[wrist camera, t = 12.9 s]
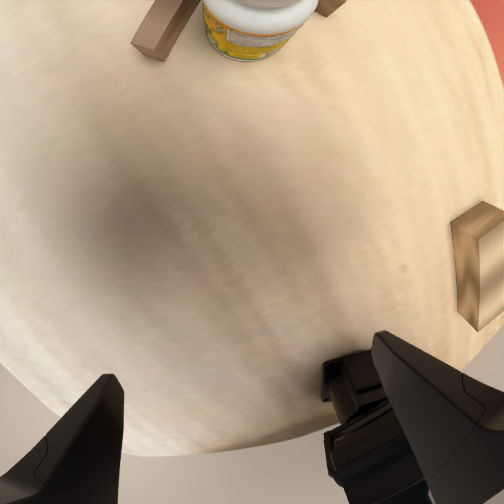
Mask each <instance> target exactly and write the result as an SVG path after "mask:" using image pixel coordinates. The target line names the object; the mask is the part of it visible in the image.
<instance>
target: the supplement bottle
mask: <svg viewBox="0 0 504 504" xmlns="http://www.w3.org/2000/svg"><path fill="white" fill-rule="evenodd" d="M202 4H203V13H204V23H205V30H206V34H207V37H208V39H209V40H210V42H211V43H212V45H213V46H214V47H215V48H216V49H217V50H218V51H219V52H220V53H221V54H223V55H224V56H226V57H228V58H231V59H234V60H238V61H257V60H262V59H265V58H268V57H270V56H272V55H273V54H275V53H276V52H277V51H279V50H280V49H281V48H282V47H283V46H284V45H285V44H286V42H287V41H288V40H289V39H290V38H291V37H292V36H293V35H294V34H295V33H296V31H297V30H298V29H299V28H300V27H301V26H302V25H303V24H304V23H305V22H306V21H307V20H308V19H309V17H310V16H311V15H312V14H313V12H314V11H315V9H316V7H317V4H318V0H202Z"/></svg>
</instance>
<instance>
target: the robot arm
mask: <svg viewBox="0 0 504 504" xmlns="http://www.w3.org/2000/svg"><path fill="white" fill-rule="evenodd" d="M321 400H322V402H324V403H325V402H329V401H332V403H333V406H334V408H335V411H336V413H337V416H338V419H339V421H340V424H341V425H340V426H339V427H336V428H334V429H333V430H331V431H327V432H325V433H324V446H325V454H326V462H327V469H328V475H329V476H330V477H332V478H333V479H334V480H335V482H336V483H337V484H338V485H339V486H340V487H343V488H344V491H345V493H346V496H347V499H348V502H349V504H504V392H502V391H500V390H497V389H495V388H493V387H490V386H488V385H486V384H483V383H482V382H479V381H478V380H475V379H474V378H472V377H469V376H468V375H466V374H464V373H461V371H459V370H457V369H455V368H453V367H451V366H450V365H448V364H446V363H444V362H442V361H441V360H439V359H437V358H435V357H433V356H432V355H430V354H428V353H426V352H424V351H422V350H421V349H419V348H417V347H415V346H413V345H412V344H410V343H408V342H406V341H404V340H403V339H401V338H399V337H397V336H395V335H393V334H392V333H390V332H388V331H386V330H383V331H380V332H376V333H375V334H374V336H373V342H372V348H371V351H367V352H364V353H360V354H356V355H353V356H349V357H345V358H341V359H337V360H333V361H329V362H326V363H324V364H323V371H322V390H321ZM123 430H124V390H123V388H122V386H121V384H120V383H119V381H118V379H117V378H116V376H115V375H114V374H103V375H101V376H100V377H99V378H98V380H97V381H96V382H95V383H94V384H93V385H92V386H91V387H90V388H89V389H88V390H87V391H86V392H85V393H84V394H83V395H82V396H81V397H80V398H79V399H78V401H77V402H76V403H75V404H74V405H73V406H72V407H71V408H70V409H69V410H68V411H67V412H66V413H65V414H64V415H63V417H62V418H61V419H60V420H59V421H58V422H57V423H56V424H55V425H54V426H53V427H52V428H51V429H50V431H49V432H48V433H47V434H46V436H44V437H43V438H42V439H41V440H40V441H39V442H38V443H37V444H36V446H35V447H34V448H33V449H32V450H31V451H30V452H28V453H27V454H26V455H25V456H24V457H23V458H22V459H21V460H20V461H19V462H18V463H16V465H14V466H13V467H12V468H11V469H10V470H9V471H8V472H6V473H5V474H4V475H2V476H1V477H0V504H118V486H119V485H118V484H119V470H120V460H121V450H122V440H123Z"/></svg>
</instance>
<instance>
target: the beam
mask: <svg viewBox="0 0 504 504" xmlns="http://www.w3.org/2000/svg"><path fill="white" fill-rule="evenodd" d="M451 230H452V237H453V245H454V254H455V264H456V277H457V294H458V313H459V314H460V315H461V316H462V317H463V318H464V319H465V320H466V321H467V322H468V323H469V324H470V325H471V326H472V327H473V328H474V329H475V330H476V331H477V332H479V331H480V330H481V329H482V328H484V327H485V326H486V325H487V324H489V323H490V322H491V321H492V320H493V319H495V318H496V317H497V316H498V315H499V314H500V313H502V312H503V311H504V211H503V210H501V209H499V208H497V207H495V206H493V205H491V204H488V203H486V202H484V201H482V202H481V203H479V204H478V205H477V206H475V207H474V208H472V209H471V210H469V211H468V212H466V213H465V214H463V215H462V216H460V217H458V218H457V219H455V220H454V221H452V222H451Z"/></svg>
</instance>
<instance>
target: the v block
mask: <svg viewBox="0 0 504 504" xmlns="http://www.w3.org/2000/svg"><path fill="white" fill-rule="evenodd" d="M346 1H347V0H318V4H317V7H316V9H315V11H316V12H318V13H319V14H321V15H323V16H325V17H328V16H329V15H330V14H331V13H333V12H334V11H335V10H336V9H338V8H339V7H340V6H341V5H343V4H344V3H345V2H346ZM199 2H200V0H155V2H154V3H153V5H152V6H151V8H150V10H149V11H148V13H147V15H146V16H145V18H144V20H143V21H142V23H141V25H140V27H139V28H138V30H137V32H136V34H135V36H134V37H133V39H132V41H131V44H132V45H133V46H134V47H135V48H137V49H138V50H139V51H140V52H141V53H142V54H144V55H145V56H148V57H151V58H155V59H158V60H161V61H164V62H165V60H166V58H167V56H168V55H169V53H170V51H171V49H172V47H173V45H174V43H175V42H176V40H177V38H178V36H179V35H180V33H181V31H182V29H183V28H184V26H185V24H186V23H187V21H188V19H189V18H190V16H191V14H192V13H193V11H194V10H195V8H196V7H197V5H198V3H199Z"/></svg>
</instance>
